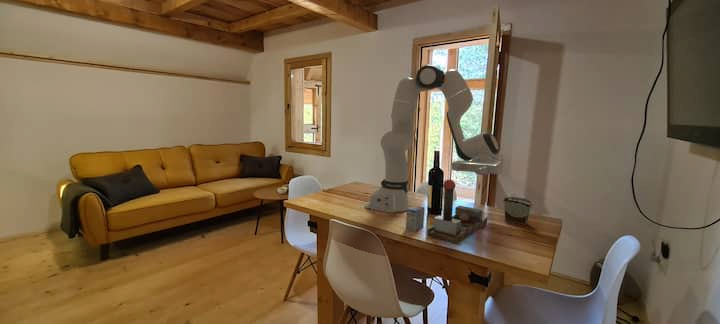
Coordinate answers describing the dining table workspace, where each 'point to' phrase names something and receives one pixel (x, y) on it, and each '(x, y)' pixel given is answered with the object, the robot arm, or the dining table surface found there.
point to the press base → (469, 225)
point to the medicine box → (415, 218)
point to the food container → (517, 209)
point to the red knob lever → (447, 213)
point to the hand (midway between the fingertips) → (467, 170)
